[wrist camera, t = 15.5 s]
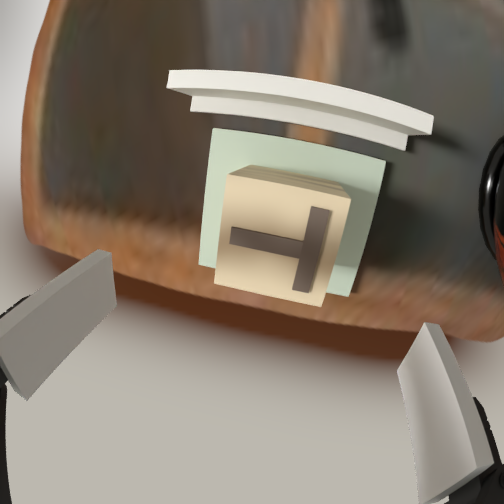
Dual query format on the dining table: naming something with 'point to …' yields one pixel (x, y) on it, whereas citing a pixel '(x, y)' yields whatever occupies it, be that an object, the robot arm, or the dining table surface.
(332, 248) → the maple cube
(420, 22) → the dining table surface
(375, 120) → the white slab
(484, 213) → the amphora vase
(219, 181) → the display pad
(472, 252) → the dining table surface
